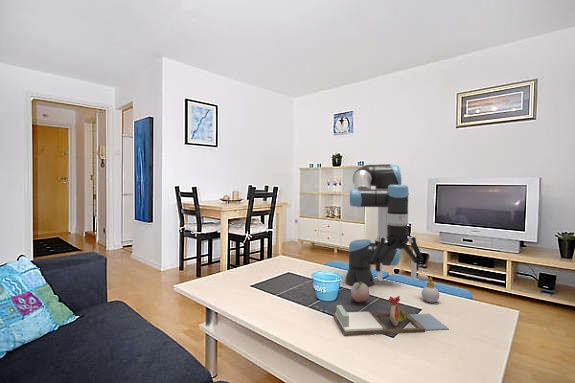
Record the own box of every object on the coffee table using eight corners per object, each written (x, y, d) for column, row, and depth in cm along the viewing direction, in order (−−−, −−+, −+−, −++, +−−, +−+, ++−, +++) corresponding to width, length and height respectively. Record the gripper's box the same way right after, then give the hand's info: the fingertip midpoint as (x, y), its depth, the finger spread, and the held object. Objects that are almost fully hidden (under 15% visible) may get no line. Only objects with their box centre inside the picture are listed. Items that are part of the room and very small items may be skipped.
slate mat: (408, 315, 126) (408, 314, 126) (429, 314, 127) (429, 313, 127) (426, 330, 113) (426, 329, 113) (448, 329, 114) (448, 328, 114)
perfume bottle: (438, 306, 136) (438, 279, 135) (415, 301, 141) (415, 275, 141) (440, 300, 142) (440, 275, 142) (417, 296, 147) (418, 271, 147)
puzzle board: (333, 317, 124) (333, 315, 124) (405, 314, 127) (405, 312, 127) (344, 336, 109) (344, 333, 109) (425, 332, 112) (425, 329, 112)
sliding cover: (335, 314, 123) (335, 303, 123) (368, 313, 125) (368, 301, 125) (345, 331, 109) (345, 318, 109) (382, 329, 111) (382, 316, 111)
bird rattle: (404, 333, 115) (407, 315, 122) (402, 311, 111) (405, 294, 118) (386, 329, 118) (391, 312, 125) (384, 307, 114) (388, 291, 121)
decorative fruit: (368, 307, 134) (368, 285, 133) (349, 305, 136) (349, 283, 136) (370, 300, 142) (370, 278, 142) (352, 297, 145) (352, 277, 145)
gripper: (369, 226, 113) (369, 283, 113) (433, 225, 115) (432, 281, 115) (362, 223, 120) (362, 277, 120) (422, 223, 123) (422, 275, 123)
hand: (396, 279), depth 118 cm, fingers open, 13 cm apart
